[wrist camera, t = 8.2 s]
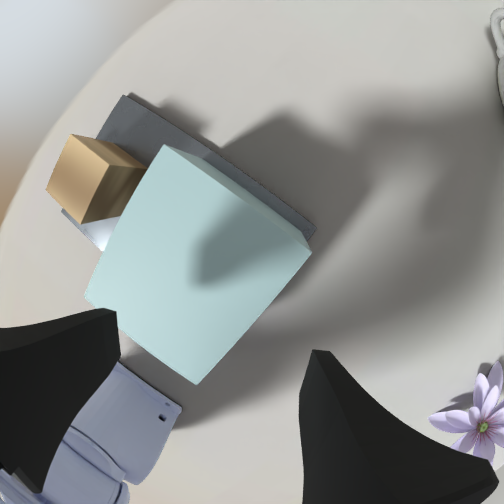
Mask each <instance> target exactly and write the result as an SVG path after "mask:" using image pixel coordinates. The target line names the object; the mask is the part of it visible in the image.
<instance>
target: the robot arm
mask: <svg viewBox="0 0 504 504" xmlns="http://www.w3.org/2000/svg"><path fill="white" fill-rule="evenodd" d="M120 356H121V352H120V343H119V334H118V323H117V311H113V310H110V309H107V308H98V309H93V310H89V311H85V312H81V313H77V314H74V315H70V316H66V317H62V318H59V319H55V320H50V321H46V322H42V323H37V324H32V325H27V326H20V327H11V328H0V492H1V494H2V497H3V499H4V501H5V502H4V501H3V500H2V499H1V498H0V504H129V500H130V493H129V490H128V486H127V484H126V483H124V482H122V480H125V481H128V482H130V483H132V484H134V485H138V484H140V483H141V482H142V481H143V480H144V479H145V478H146V477H147V476H148V474H149V473H150V472H151V470H152V468H153V467H154V465H155V464H156V462H157V460H158V458H159V456H160V454H161V452H162V450H163V447H164V445H165V443H166V441H167V439H168V436H169V434H170V432H171V430H172V428H173V425H174V423H175V421H176V419H177V417H178V415H179V414H180V413H181V411H182V408H181V406H179V405H178V404H176V403H175V402H173V401H171V400H170V399H168V398H167V397H165V396H164V395H162V394H161V393H159V392H158V391H157V390H155V389H154V388H152V387H151V386H149V385H148V384H147V383H145V382H144V381H142V380H141V379H140V378H138V377H137V376H136V375H134V374H133V373H132V372H130V371H129V370H128V369H127V368H125V367H124V366H123V365H121V364H120V363H119V362H118V360H119V358H120ZM168 403H169V404H168ZM299 425H300V436H301V446H302V456H303V467H304V485H303V502H302V504H481V503H482V502H483V501H484V500H485V499H486V498H488V497H489V496H490V495H491V494H492V493H493V491H494V490H495V489H496V488H497V486H498V483H499V480H498V478H497V476H496V474H495V472H494V470H493V468H492V466H491V464H490V462H489V461H488V459H484V458H480V457H477V456H473V455H470V454H466V453H463V452H460V451H457V450H454V449H452V448H449V447H447V446H445V445H442V444H440V443H438V442H436V441H434V440H432V439H430V438H428V437H426V436H424V435H423V434H421V433H419V432H418V431H416V430H414V429H413V428H411V427H409V426H408V425H406V424H405V423H403V422H402V421H401V420H399V419H398V418H397V417H395V416H394V415H393V414H391V413H390V412H389V411H387V410H386V409H385V408H384V407H383V406H381V405H380V404H379V403H378V402H377V401H376V400H375V399H374V398H373V397H372V396H370V395H369V394H368V393H367V392H366V391H365V390H364V389H363V388H362V387H361V386H360V385H359V383H358V382H357V381H356V380H355V379H354V378H353V377H352V376H351V375H350V374H349V373H348V371H347V370H346V369H345V368H344V367H343V366H342V365H341V363H340V362H339V361H338V360H337V359H336V358H335V356H334V355H333V354H332V353H331V352H330V351H322V350H313V349H312V353H311V357H310V360H309V364H308V367H307V370H306V374H305V377H304V380H303V384H302V387H301V390H300V393H299Z"/></svg>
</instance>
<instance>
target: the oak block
mask: <svg viewBox="0 0 504 504" xmlns="http://www.w3.org/2000/svg"><path fill="white" fill-rule="evenodd" d="M147 170H148V168H147V167H145V166H144V165H143V164H141V163H140V162H139V161H137V160H136V159H134V158H133V157H132V156H130V155H129V154H128V153H126V152H125V151H124V150H122V149H121V148H119V147H118V146H117V145H115V144H114V143H112V142H107V141H103V140H98V139H94V138H89V137H84V136H79V135H74V134H70V136H69V138H68V140H67V142H66V144H65V146H64V148H63V150H62V153H61V155H60V157H59V159H58V161H57V164H56V166H55V168H54V170H53V173H52V175H51V178H50V180H49V183H48V185H47V188H46V191H47V192H48V193H49V194H50V195H51V196H52V197H53V198H54V199H55V200H56V201H57V202H58V203H59V204H60V205H61V206H62V207H63V208H64V209H65V210H66V211H67V212H68V213H69V214H70V215H71V216H72V217H73V218H74V219H75V220H76V221H77V222H78V223H79V224H80V225H81V224H86V223H90V222H95V221H99V220H104V219H109V218H113V217H118V216H121V215H122V213H123V211H124V209H125V207H126V205H127V204H128V202H129V200H130V199H131V197H132V195H133V193H134V191H135V190H136V188H137V186H138V185H139V183H140V181H141V180H142V178H143V176H144V175H145V173H146V171H147Z"/></svg>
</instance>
